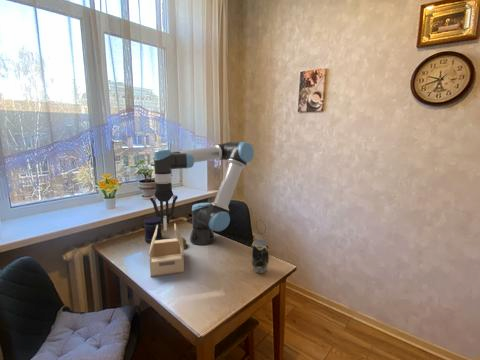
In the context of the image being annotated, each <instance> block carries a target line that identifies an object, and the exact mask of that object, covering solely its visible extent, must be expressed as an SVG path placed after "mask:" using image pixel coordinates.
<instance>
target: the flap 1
mask: <svg viewBox="0 0 480 360" xmlns="http://www.w3.org/2000/svg"><path fill="white" fill-rule="evenodd" d="M157 228H158V225H157V226H156V229H155V232H154V235H153V238H152V241H151V244H150V247H149V251H148V257H150V254H151V251H152V248H153V245H154V242H155V239H156V235H157Z"/></svg>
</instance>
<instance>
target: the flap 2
mask: <svg viewBox="0 0 480 360" xmlns="http://www.w3.org/2000/svg"><path fill="white" fill-rule="evenodd" d="M174 236H175V238H177V240H178V242H179V244H180V247H181V249H182V251H183V253H185V249H184V247H183V239H182V235H181V233H180V231H179V229H178V226H177V224H176V223H174Z"/></svg>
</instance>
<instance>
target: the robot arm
mask: <svg viewBox="0 0 480 360" xmlns="http://www.w3.org/2000/svg"><path fill="white" fill-rule="evenodd" d="M254 155H255V151H254V148H253V145H252V144H250V142H247V141H228V142H224V143H220V144H219V143H218V144H214V145H213V146H208V147H202V148H194V149H186V150H179V151H171V150H170V149H154V152H153V163H154V164H153V165H154V182H155V183H154V184H155V185H154V188H155V189H154V190H155V193H154V195H152V196H150V197H149V200H150V202H151V203H152V205H153V209H154V212H155V214H156V217H159V218H161V225H163V231H164V232H166V231H168V224H169V223H170V217H173V214H174V210H175V205H176V201H177V200H178V198H179V197H178V195H176V194H174V192H173V188H172V185H173V184H172V183H173V182H172V170H179V169H180V170H181V169H190V168H193V167H194V165H195V163H201V162H206V161H212V160H216V161H221V160H222V161H227V163H228V164H227V167H226V170H225V172H224V174H223V178H222V180H221V183H220V185H219V187H218V190H217V193H216V196H215V198H214V201H213V202H199V203H195V204H192V207H191V220H192V221H191V223H192V229H191V232H190V236H189V241H190V243H191V244H193V245H201V246H202V245H207V244H211V243H213V242H214V241H216V240H215V239H216V237H215V232H222V231H224V230H226V229H227V227H228V226H229V224H230V221H231V216H230V214H229V212H230V209H229V205H230V202H231V200H232V197H233V195H234V192H235V190H236V187H237V184H238V181H239V178H240V175H241V172H242V170H243V169H244V168H246V167H247V164H248V163H250V162H252V160H253V159H254V157H255V156H254ZM156 199H157V200H158V201H159V207H160V211H159V208H158V204H157V201H156ZM171 199H172V204H171V206H169V201H170V200H171ZM164 202H165V214H166V215H164ZM169 207H171V208H169ZM169 209H170V210H169ZM214 231H215V232H214Z"/></svg>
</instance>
